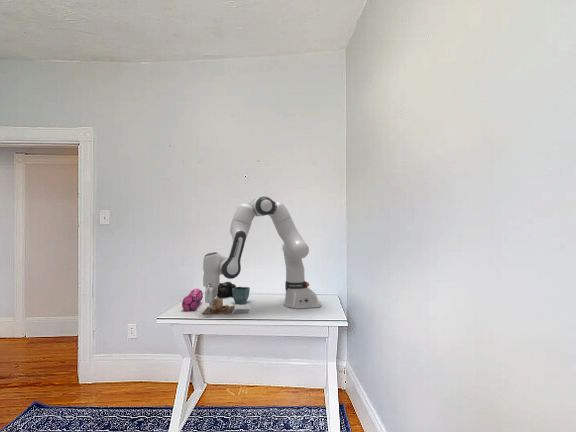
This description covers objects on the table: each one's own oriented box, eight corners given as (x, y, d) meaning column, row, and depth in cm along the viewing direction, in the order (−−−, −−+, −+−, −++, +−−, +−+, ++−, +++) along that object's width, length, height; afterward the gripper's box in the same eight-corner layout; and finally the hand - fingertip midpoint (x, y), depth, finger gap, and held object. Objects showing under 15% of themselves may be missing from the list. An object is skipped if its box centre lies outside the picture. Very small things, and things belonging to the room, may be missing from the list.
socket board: (234, 306, 206) (234, 303, 206) (232, 313, 190) (232, 310, 190) (207, 307, 205) (207, 304, 205) (202, 314, 189) (202, 311, 189)
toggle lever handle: (214, 308, 199) (214, 298, 199) (223, 308, 199) (223, 298, 199) (208, 313, 189) (208, 302, 189) (218, 313, 189) (218, 302, 189)
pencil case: (199, 311, 195) (199, 293, 195) (181, 312, 194) (181, 294, 194) (204, 302, 216) (204, 286, 217) (188, 303, 215) (188, 286, 216)
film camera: (208, 298, 227) (208, 283, 228) (217, 294, 239) (217, 280, 239) (233, 300, 223) (233, 284, 223) (241, 296, 234) (241, 281, 235)
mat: (249, 309, 198) (249, 308, 198) (248, 313, 190) (248, 312, 190) (235, 309, 198) (235, 309, 198) (233, 313, 190) (233, 312, 190)
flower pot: (245, 304, 209) (245, 289, 210) (231, 304, 211) (231, 289, 211) (250, 301, 218) (250, 287, 218) (236, 300, 220) (236, 286, 220)
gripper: (214, 285, 181) (214, 312, 181) (219, 279, 201) (219, 303, 201) (201, 285, 181) (202, 312, 180) (208, 279, 201) (208, 303, 201)
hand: (211, 307), depth 191 cm, fingers closed
